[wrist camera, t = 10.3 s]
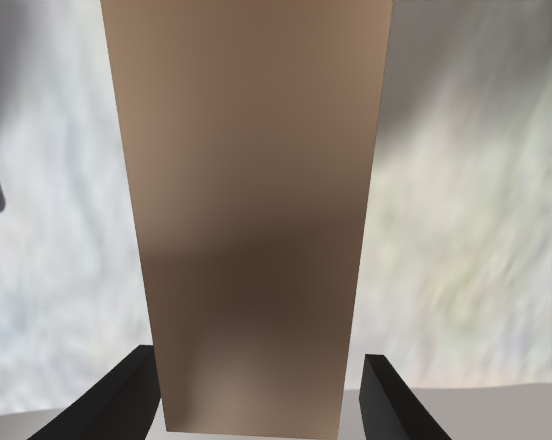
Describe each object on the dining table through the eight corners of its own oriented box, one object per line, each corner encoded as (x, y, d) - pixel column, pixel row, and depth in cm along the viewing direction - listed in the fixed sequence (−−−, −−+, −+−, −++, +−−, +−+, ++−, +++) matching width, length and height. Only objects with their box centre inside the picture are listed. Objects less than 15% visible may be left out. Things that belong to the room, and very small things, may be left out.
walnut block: (216, 298, 14) (166, 431, 8) (201, 45, 10) (96, -28, 5) (317, 302, 14) (337, 440, 8) (336, 47, 10) (396, -27, 4)
